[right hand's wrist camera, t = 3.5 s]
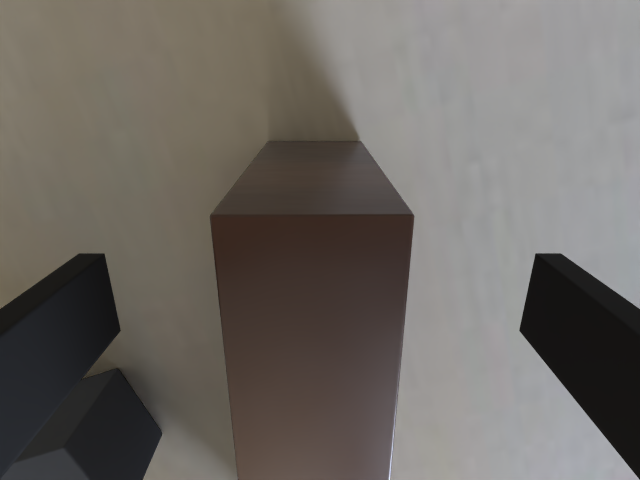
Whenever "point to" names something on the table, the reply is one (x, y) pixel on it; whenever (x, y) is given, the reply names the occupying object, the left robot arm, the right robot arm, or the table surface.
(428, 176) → the table surface
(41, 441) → the grey block
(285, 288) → the beam
